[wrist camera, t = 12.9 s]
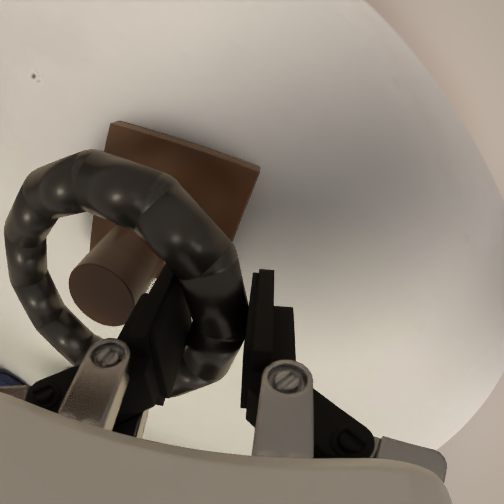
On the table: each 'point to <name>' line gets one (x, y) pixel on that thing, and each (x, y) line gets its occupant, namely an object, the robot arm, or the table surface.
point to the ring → (157, 239)
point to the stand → (129, 243)
